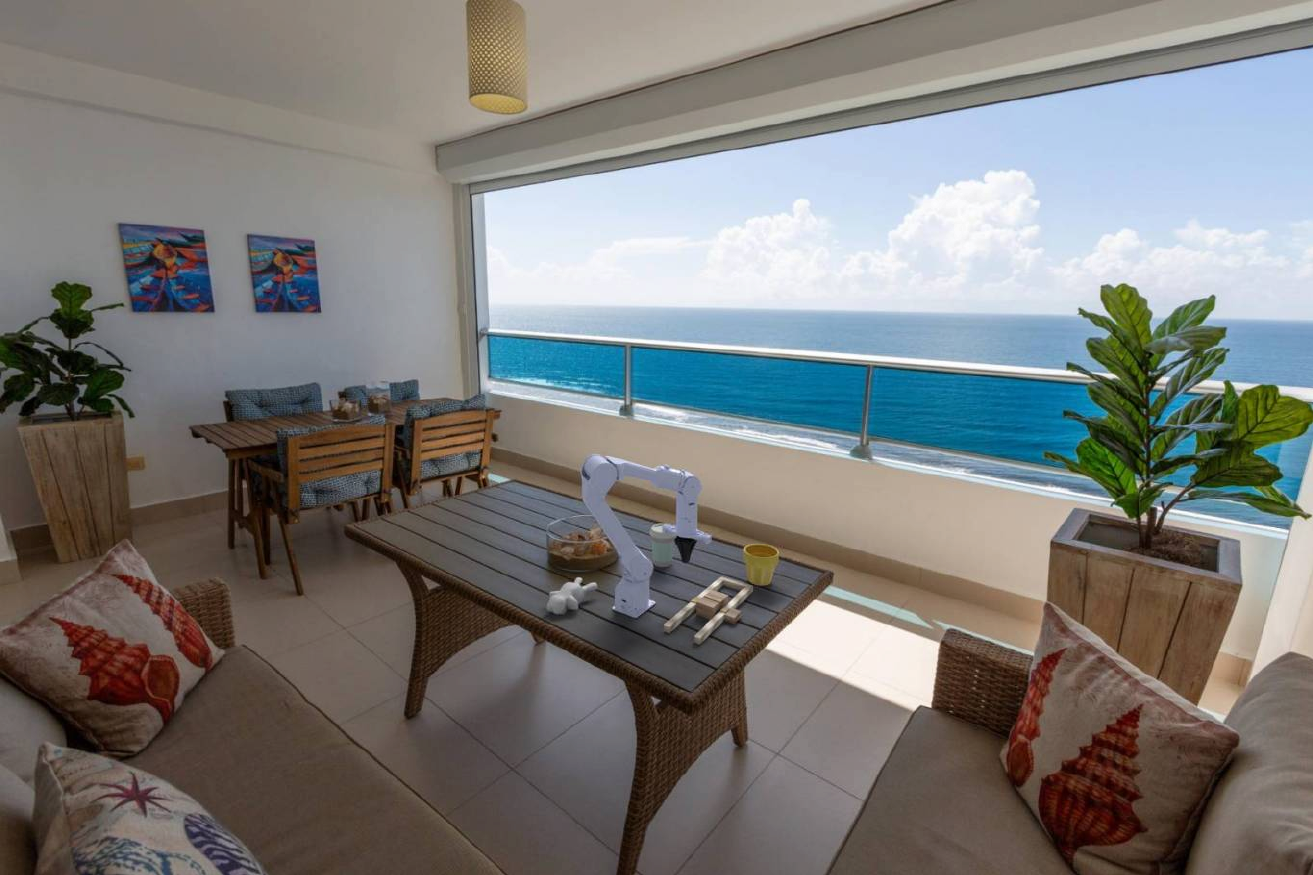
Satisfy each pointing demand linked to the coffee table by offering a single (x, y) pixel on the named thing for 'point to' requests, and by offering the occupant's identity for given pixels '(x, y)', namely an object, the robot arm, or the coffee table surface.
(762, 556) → the plant pot
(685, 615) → the beam slot
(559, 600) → the bunny figurine
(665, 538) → the coffee cup
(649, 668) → the coffee table surface
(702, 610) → the rider block
